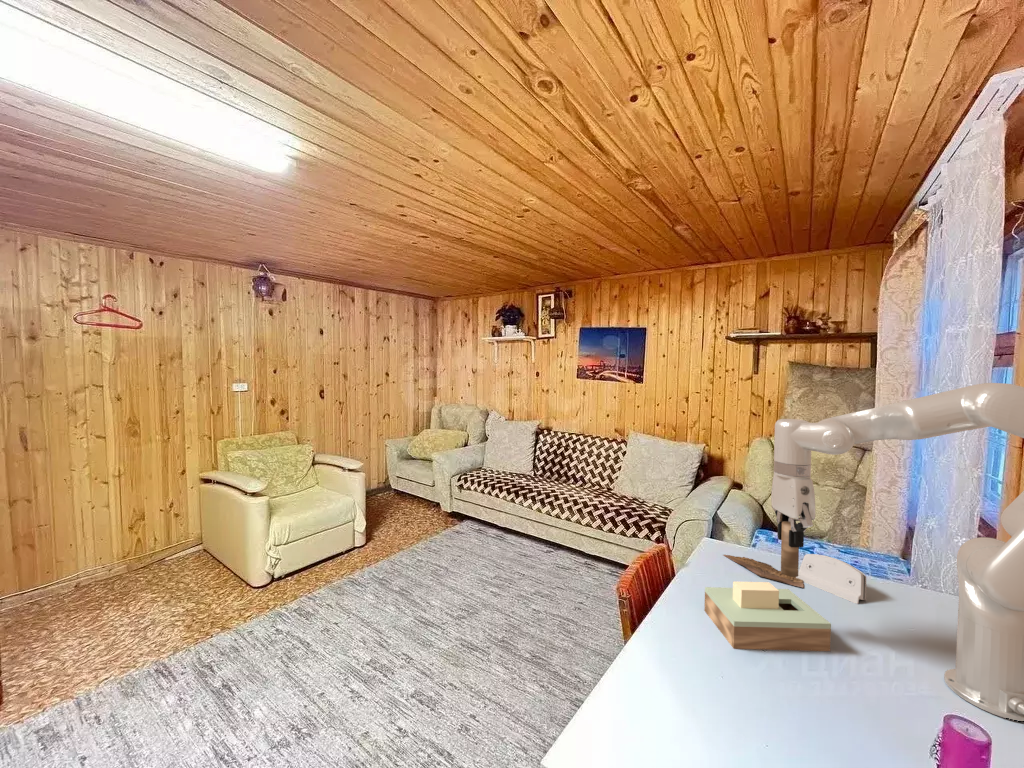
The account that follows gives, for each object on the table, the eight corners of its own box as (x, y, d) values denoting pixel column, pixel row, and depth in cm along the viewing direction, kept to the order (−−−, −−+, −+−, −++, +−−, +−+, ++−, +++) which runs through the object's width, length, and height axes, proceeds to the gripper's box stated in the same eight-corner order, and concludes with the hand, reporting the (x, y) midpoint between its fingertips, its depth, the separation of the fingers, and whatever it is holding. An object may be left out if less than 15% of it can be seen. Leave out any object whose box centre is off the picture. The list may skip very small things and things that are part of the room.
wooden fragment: (814, 585, 125) (814, 582, 125) (793, 594, 120) (793, 590, 120) (735, 552, 148) (735, 549, 148) (715, 558, 143) (715, 555, 143)
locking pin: (801, 577, 99) (802, 526, 99) (786, 577, 99) (787, 526, 99) (791, 570, 102) (792, 521, 102) (777, 569, 103) (778, 521, 102)
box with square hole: (830, 654, 94) (830, 628, 93) (733, 651, 94) (734, 626, 94) (787, 615, 109) (788, 593, 108) (704, 613, 109) (704, 591, 109)
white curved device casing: (794, 578, 129) (800, 546, 130) (801, 579, 131) (807, 548, 132) (858, 604, 114) (865, 569, 115) (866, 606, 116) (872, 571, 118)
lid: (830, 628, 93) (831, 604, 93) (734, 626, 94) (734, 602, 94) (788, 593, 108) (788, 572, 108) (704, 591, 109) (705, 570, 109)
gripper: (833, 478, 92) (831, 558, 92) (785, 462, 108) (783, 530, 109) (799, 477, 92) (797, 558, 92) (757, 462, 108) (755, 530, 109)
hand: (790, 542), depth 101 cm, fingers closed on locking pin, 3 cm apart
